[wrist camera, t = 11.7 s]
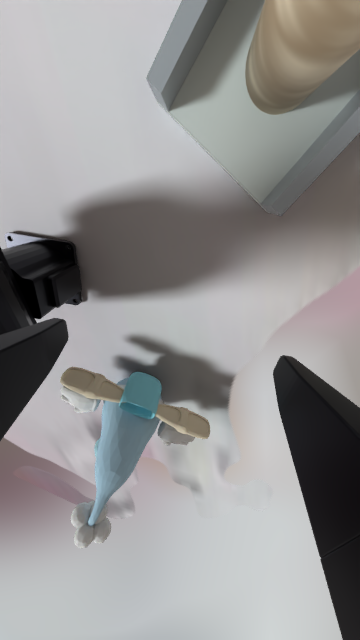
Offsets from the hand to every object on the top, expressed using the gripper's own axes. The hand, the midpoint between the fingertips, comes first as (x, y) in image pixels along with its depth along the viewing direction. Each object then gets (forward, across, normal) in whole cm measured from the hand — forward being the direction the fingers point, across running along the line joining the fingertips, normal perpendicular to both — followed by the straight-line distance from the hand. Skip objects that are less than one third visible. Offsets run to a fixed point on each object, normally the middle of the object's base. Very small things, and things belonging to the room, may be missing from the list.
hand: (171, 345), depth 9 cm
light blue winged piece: (+13, +4, +18) cm, 23 cm away
